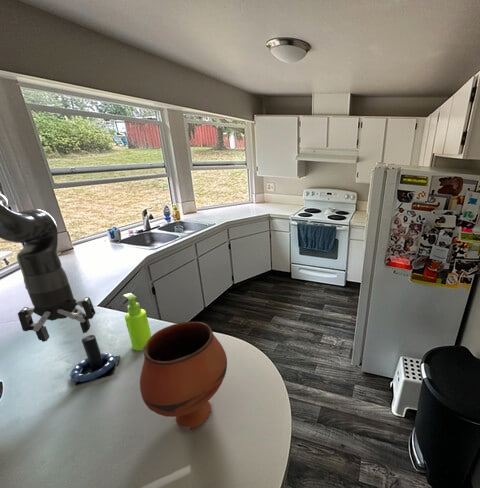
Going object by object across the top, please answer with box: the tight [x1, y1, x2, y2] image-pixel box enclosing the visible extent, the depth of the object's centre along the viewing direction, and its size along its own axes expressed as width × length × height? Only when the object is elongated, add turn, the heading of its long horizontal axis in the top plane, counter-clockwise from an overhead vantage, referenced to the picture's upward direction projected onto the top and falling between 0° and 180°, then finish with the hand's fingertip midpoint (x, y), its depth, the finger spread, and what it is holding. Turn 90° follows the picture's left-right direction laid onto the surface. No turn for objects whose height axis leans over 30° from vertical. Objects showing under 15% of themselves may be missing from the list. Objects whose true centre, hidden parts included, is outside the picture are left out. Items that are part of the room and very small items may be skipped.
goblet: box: [139, 321, 228, 430], centre depth 63 cm, size 19×19×25 cm
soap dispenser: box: [122, 292, 152, 351], centre depth 87 cm, size 6×7×20 cm
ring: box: [69, 352, 116, 383], centre depth 78 cm, size 10×10×2 cm
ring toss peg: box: [74, 334, 121, 387], centre depth 77 cm, size 9×9×13 cm
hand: (66, 335), depth 72 cm, fingers open, 8 cm apart
